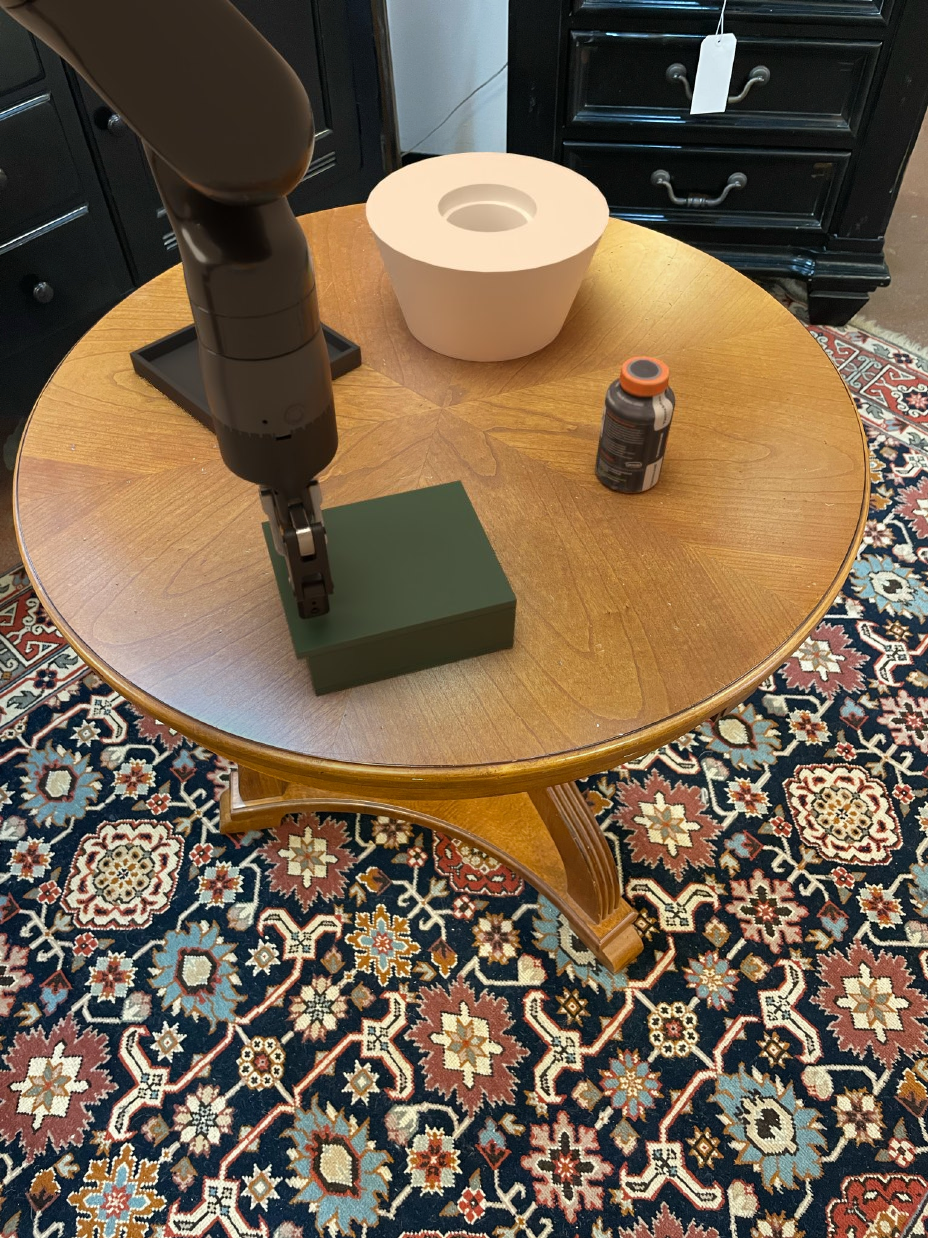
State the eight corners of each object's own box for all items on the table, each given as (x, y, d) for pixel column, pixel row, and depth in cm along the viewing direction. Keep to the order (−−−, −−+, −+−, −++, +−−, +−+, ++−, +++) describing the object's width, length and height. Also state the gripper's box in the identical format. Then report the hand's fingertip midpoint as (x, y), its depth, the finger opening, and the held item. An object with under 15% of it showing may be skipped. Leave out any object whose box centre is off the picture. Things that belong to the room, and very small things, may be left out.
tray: (223, 440, 90) (219, 422, 88) (134, 370, 96) (128, 352, 95) (362, 364, 97) (360, 346, 96) (270, 304, 104) (267, 287, 103)
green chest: (315, 696, 71) (308, 657, 67) (280, 568, 79) (272, 527, 75) (513, 647, 74) (516, 607, 70) (460, 528, 82) (460, 487, 79)
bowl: (515, 237, 114) (520, 133, 105) (640, 336, 101) (659, 228, 92) (334, 293, 106) (323, 186, 97) (446, 410, 93) (445, 299, 84)
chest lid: (297, 660, 67) (287, 616, 63) (262, 529, 75) (252, 483, 72) (516, 606, 70) (519, 561, 67) (460, 486, 79) (460, 441, 75)
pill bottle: (671, 485, 86) (696, 381, 77) (613, 502, 85) (631, 397, 76) (639, 445, 90) (659, 341, 81) (583, 460, 88) (597, 356, 80)
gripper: (192, 335, 62) (235, 517, 74) (226, 477, 53) (269, 656, 65) (306, 316, 63) (330, 498, 76) (358, 451, 54) (375, 631, 67)
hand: (302, 571), depth 70 cm, fingers open, 8 cm apart
